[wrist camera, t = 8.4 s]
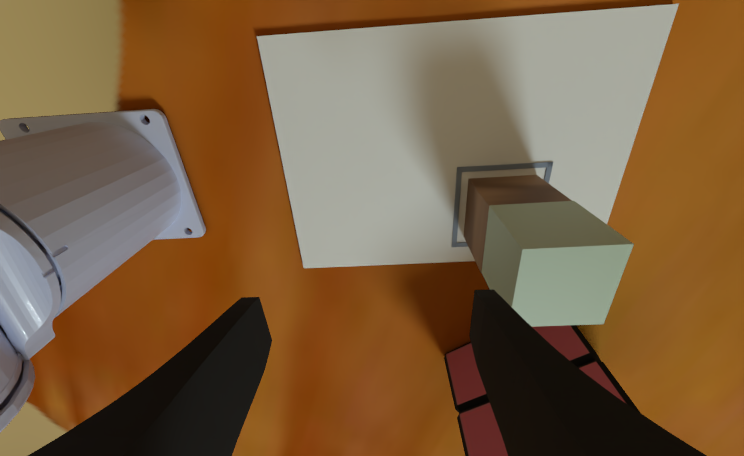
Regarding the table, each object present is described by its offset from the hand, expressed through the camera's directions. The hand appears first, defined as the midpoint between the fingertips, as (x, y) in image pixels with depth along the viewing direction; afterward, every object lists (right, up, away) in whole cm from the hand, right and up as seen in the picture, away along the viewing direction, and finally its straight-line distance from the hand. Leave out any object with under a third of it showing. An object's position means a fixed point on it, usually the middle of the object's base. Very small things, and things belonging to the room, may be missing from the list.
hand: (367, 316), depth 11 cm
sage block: (+8, +2, +5) cm, 10 cm away
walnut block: (+8, +4, +9) cm, 13 cm away
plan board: (+5, +7, +8) cm, 12 cm away
